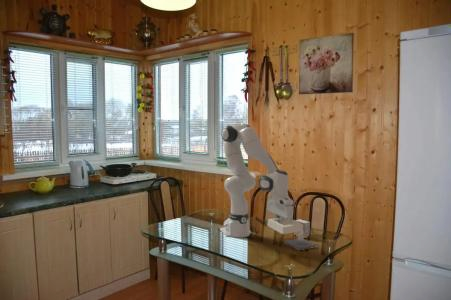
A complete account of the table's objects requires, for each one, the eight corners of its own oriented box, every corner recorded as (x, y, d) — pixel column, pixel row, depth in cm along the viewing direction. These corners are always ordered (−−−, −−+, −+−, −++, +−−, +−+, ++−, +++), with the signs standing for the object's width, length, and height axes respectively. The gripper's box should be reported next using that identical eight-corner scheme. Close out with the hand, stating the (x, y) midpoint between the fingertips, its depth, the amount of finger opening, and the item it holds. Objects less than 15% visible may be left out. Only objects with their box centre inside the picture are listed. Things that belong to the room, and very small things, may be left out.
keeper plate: (284, 243, 209) (284, 230, 209) (301, 240, 216) (302, 228, 215) (299, 251, 197) (299, 237, 196) (317, 247, 204) (318, 234, 203)
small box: (293, 236, 225) (294, 220, 224) (299, 234, 228) (300, 219, 228) (303, 239, 219) (304, 223, 218) (309, 237, 222) (310, 221, 222)
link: (267, 225, 195) (267, 219, 195) (286, 223, 202) (287, 216, 202) (282, 234, 183) (283, 226, 183) (302, 231, 190) (303, 224, 189)
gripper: (265, 195, 204) (263, 218, 205) (286, 203, 186) (285, 228, 187) (273, 194, 207) (272, 217, 208) (295, 202, 189) (294, 226, 190)
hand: (278, 222), depth 198 cm, fingers closed on link, 2 cm apart
